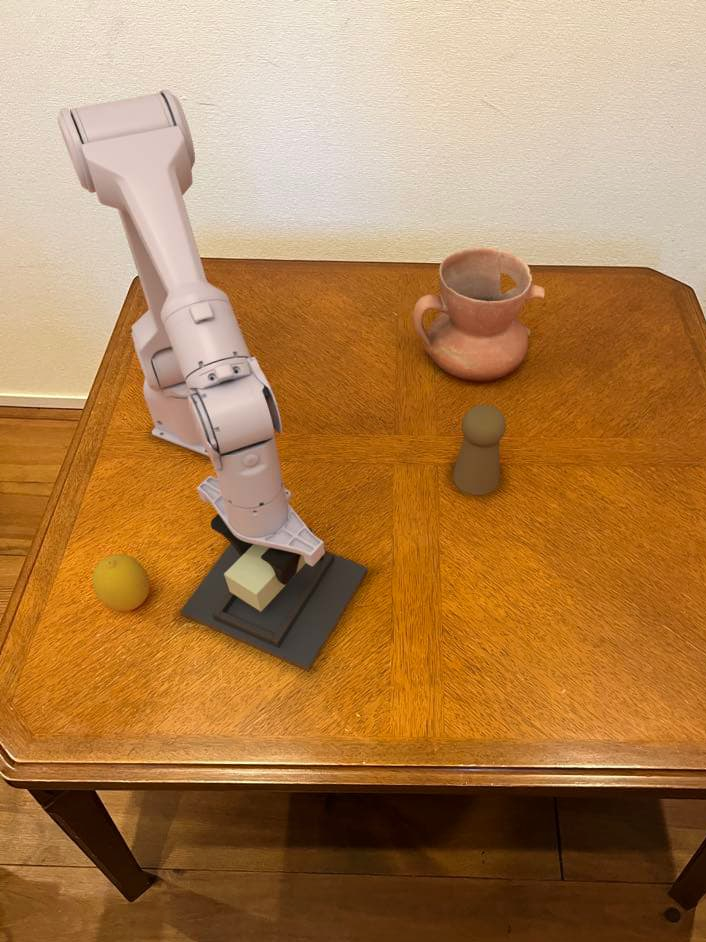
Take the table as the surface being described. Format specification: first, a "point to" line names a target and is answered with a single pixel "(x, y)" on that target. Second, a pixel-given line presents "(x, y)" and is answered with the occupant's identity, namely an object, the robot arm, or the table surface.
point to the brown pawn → (480, 450)
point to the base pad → (280, 608)
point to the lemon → (120, 582)
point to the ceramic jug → (478, 315)
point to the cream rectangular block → (255, 578)
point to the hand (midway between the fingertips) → (270, 566)
